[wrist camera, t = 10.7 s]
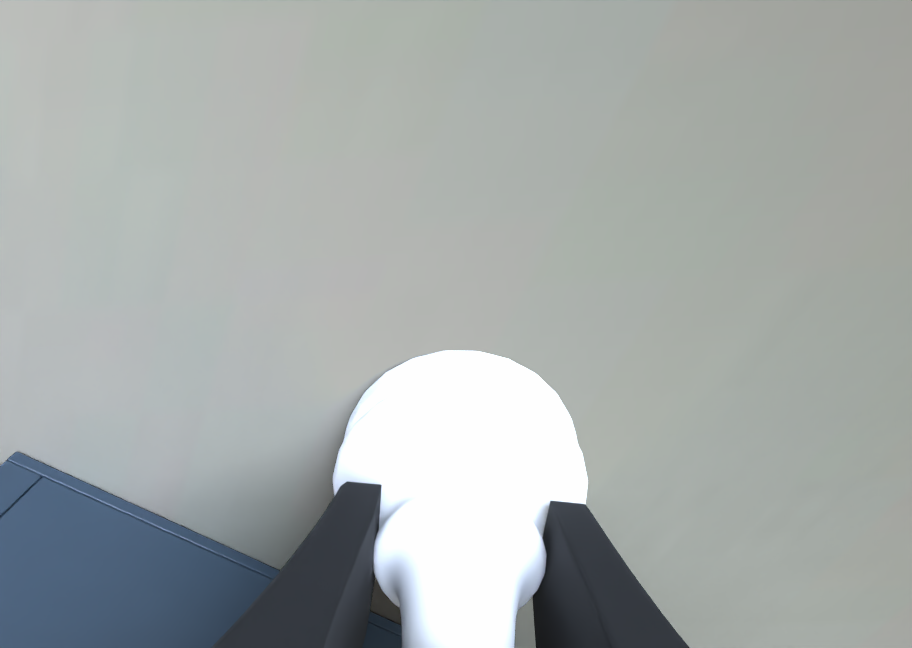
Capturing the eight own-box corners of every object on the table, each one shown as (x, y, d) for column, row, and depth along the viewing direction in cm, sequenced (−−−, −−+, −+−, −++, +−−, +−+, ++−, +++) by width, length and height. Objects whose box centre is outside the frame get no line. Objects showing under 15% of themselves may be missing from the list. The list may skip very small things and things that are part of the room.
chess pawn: (324, 359, 12) (12, 1002, 4) (569, 332, 12) (821, 970, 3) (369, 544, 14) (233, 1230, 6) (580, 525, 14) (755, 1222, 5)
